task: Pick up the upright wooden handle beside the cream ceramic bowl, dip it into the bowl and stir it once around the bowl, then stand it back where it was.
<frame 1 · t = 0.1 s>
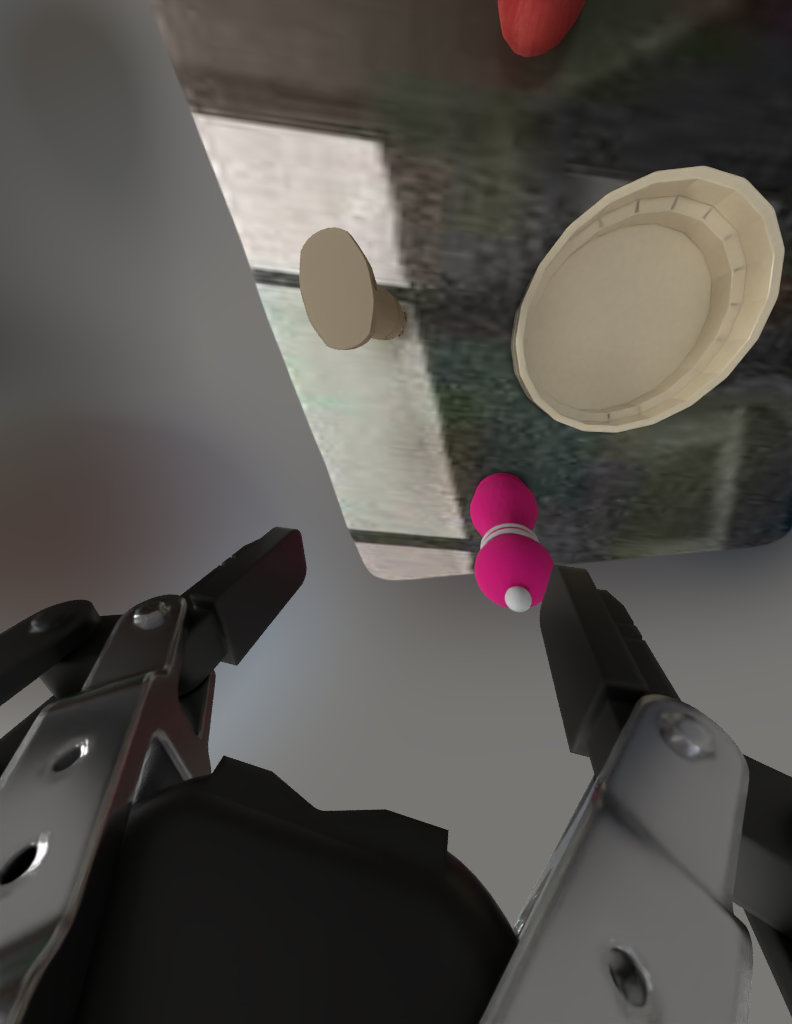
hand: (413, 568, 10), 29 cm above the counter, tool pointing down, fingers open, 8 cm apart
handle: (393, 322, 32), on the counter
onion: (536, 33, 22), on the counter
bowl: (607, 328, 28), on the counter
pepper mill: (500, 495, 38), on the counter
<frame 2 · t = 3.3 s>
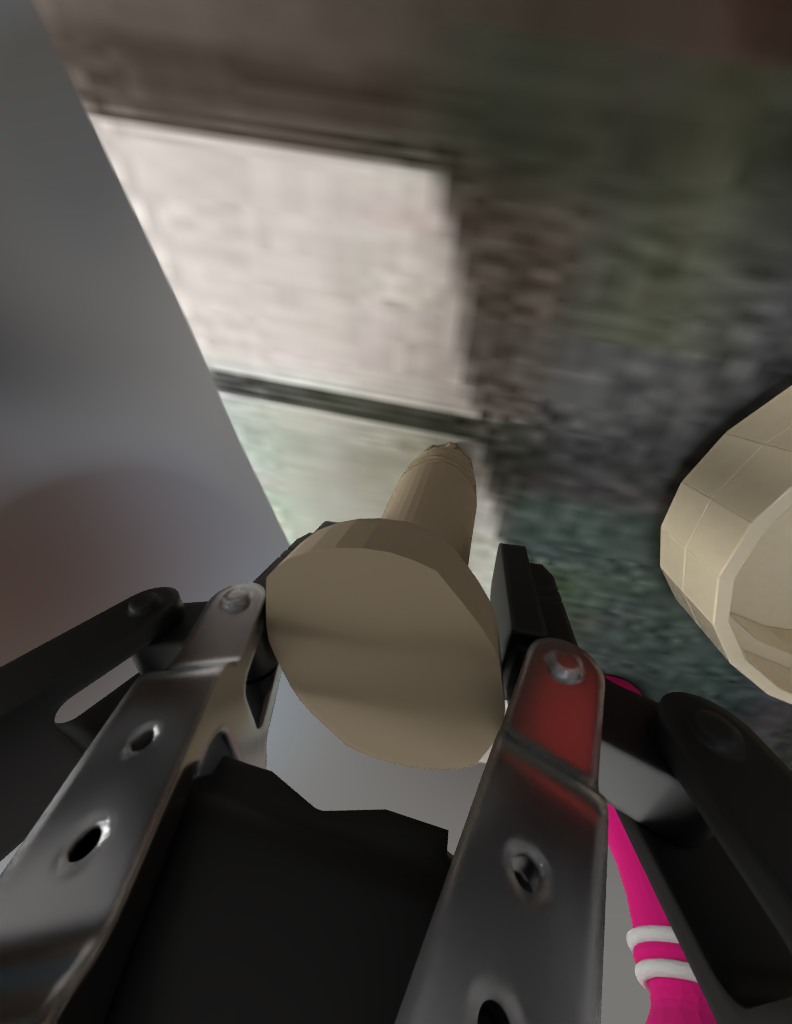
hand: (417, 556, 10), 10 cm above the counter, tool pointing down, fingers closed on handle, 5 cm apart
handle: (445, 464, 19), on the counter, touching gripper
pepper mill: (596, 696, 25), on the counter
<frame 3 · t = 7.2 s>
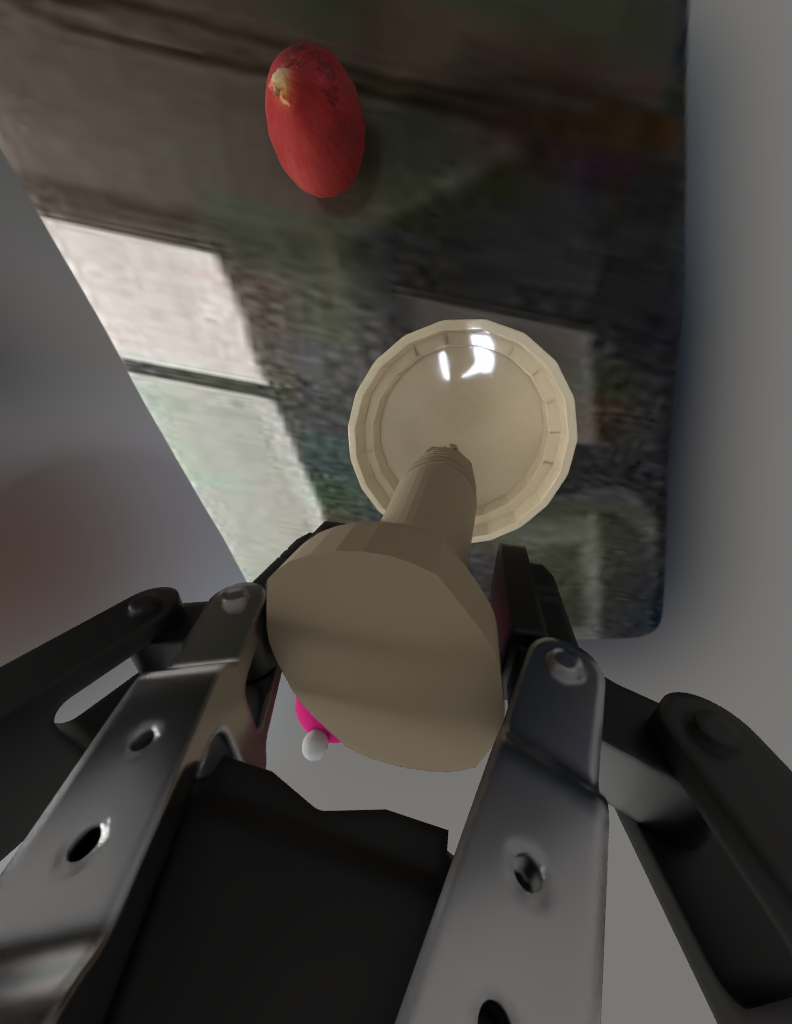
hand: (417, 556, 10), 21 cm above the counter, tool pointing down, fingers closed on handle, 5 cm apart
handle: (446, 465, 19), point 10 cm above the counter, touching gripper
onion: (342, 166, 22), on the counter
bowl: (456, 434, 28), on the counter
pepper mill: (387, 575, 38), on the counter
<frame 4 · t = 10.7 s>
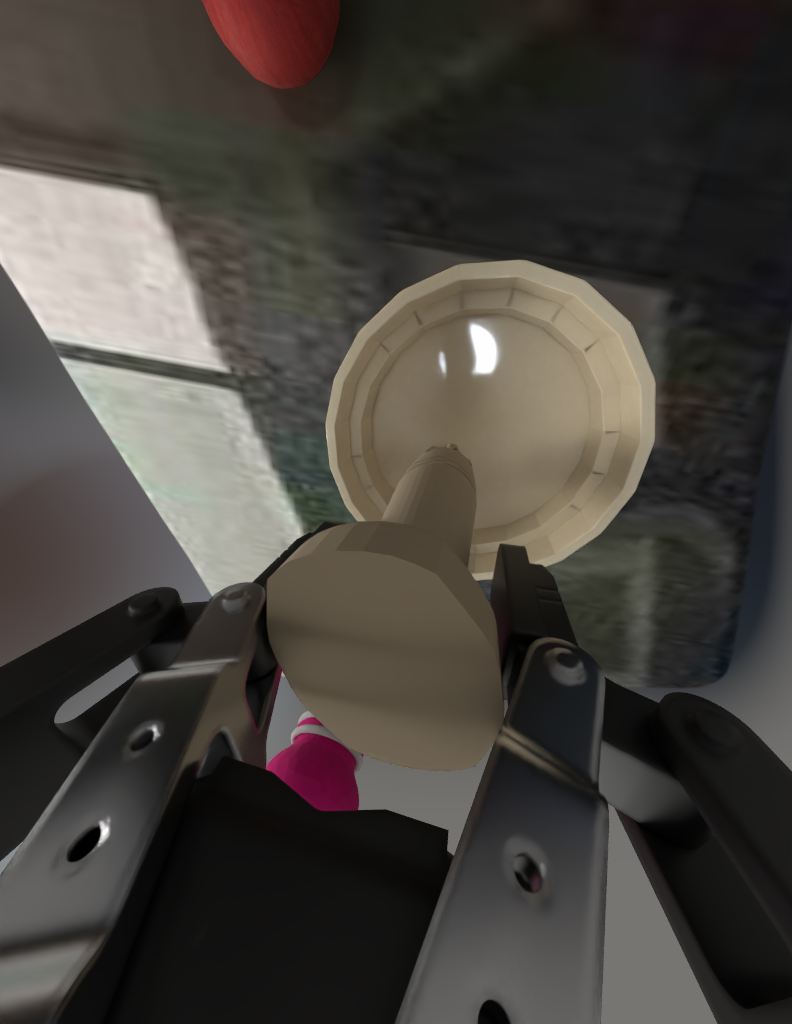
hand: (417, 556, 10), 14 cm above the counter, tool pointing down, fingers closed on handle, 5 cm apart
handle: (446, 465, 19), point 3 cm above the counter, touching gripper
onion: (312, 51, 15), on the counter
bowl: (470, 435, 21), on the counter
pepper mill: (383, 605, 31), on the counter
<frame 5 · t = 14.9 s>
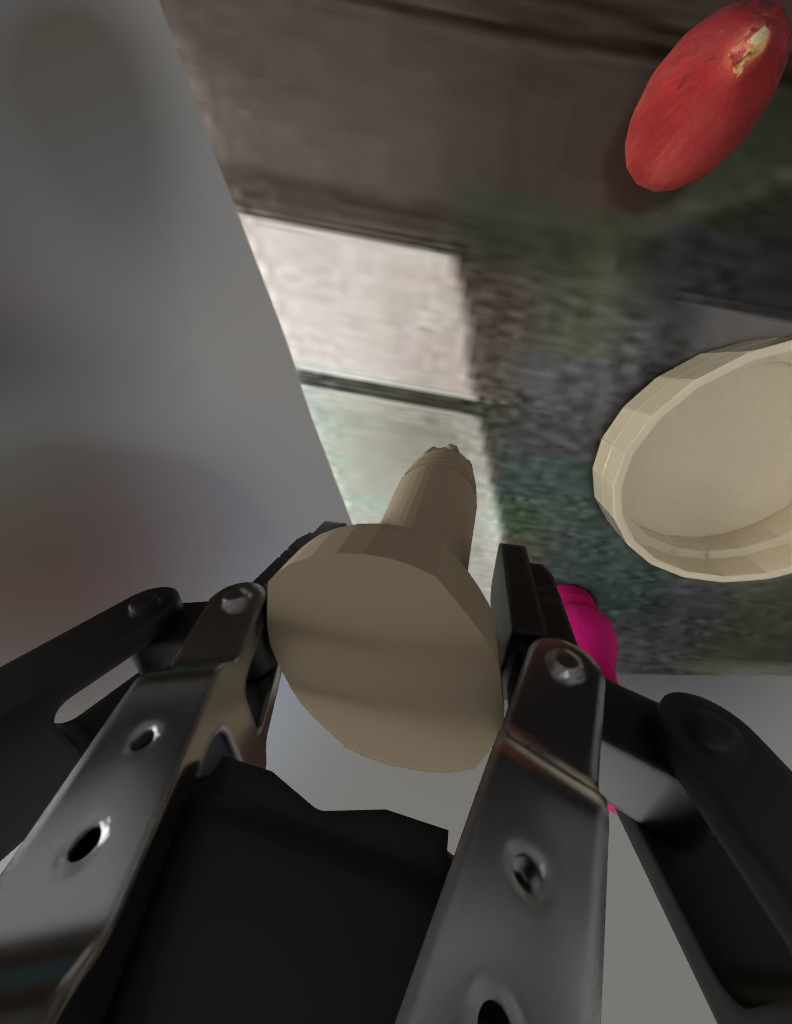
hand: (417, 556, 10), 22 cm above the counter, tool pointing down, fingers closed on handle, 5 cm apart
handle: (446, 466, 19), point 11 cm above the counter, touching gripper
onion: (657, 155, 19), on the counter
bowl: (707, 458, 25), on the counter
pepper mill: (562, 603, 35), on the counter
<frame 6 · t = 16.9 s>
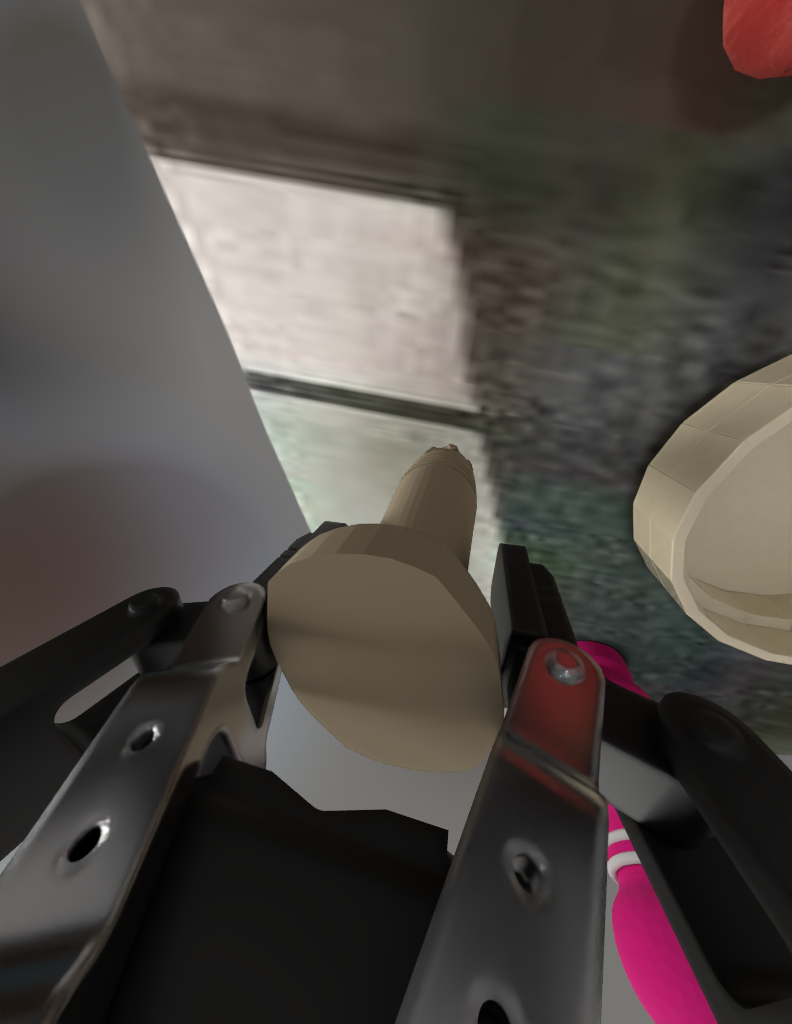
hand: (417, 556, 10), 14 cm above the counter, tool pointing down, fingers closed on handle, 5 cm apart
handle: (446, 466, 19), point 3 cm above the counter, touching gripper
onion: (761, 32, 12), on the counter
pepper mill: (583, 662, 28), on the counter
when the fingers open (10 cm above the counter, at t = 18.4 s): handle stays where it is, on the counter.
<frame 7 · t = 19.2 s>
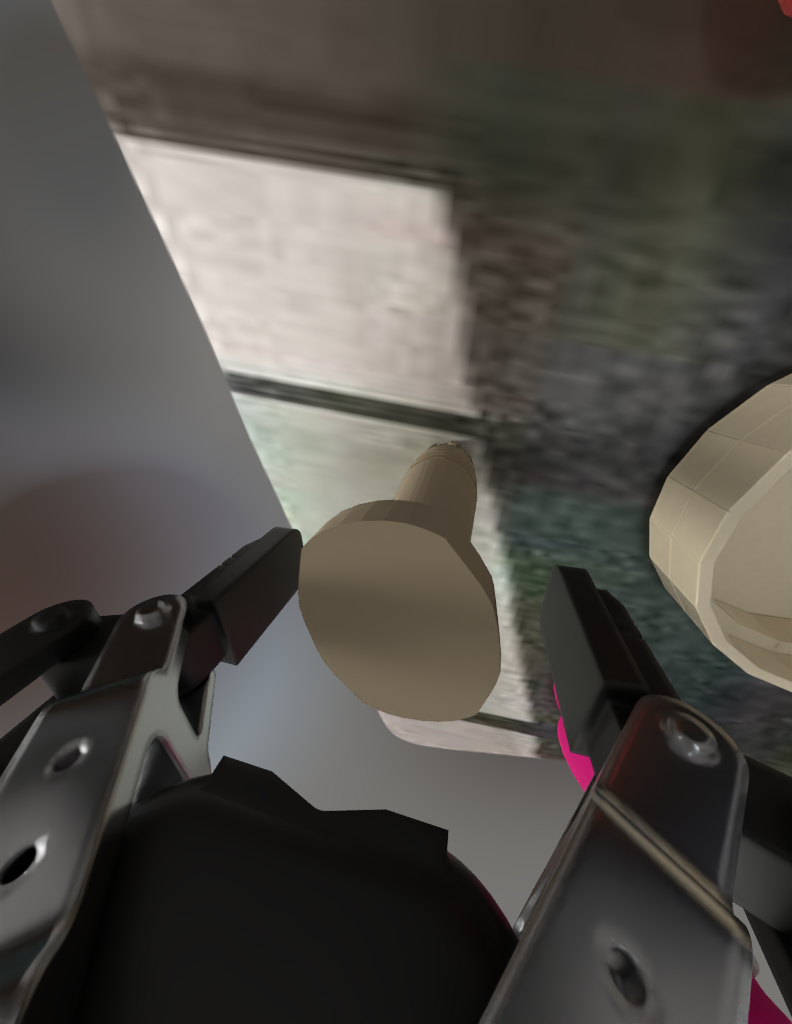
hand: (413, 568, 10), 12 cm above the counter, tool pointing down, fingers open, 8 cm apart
handle: (447, 462, 21), on the counter
pepper mill: (592, 684, 26), on the counter
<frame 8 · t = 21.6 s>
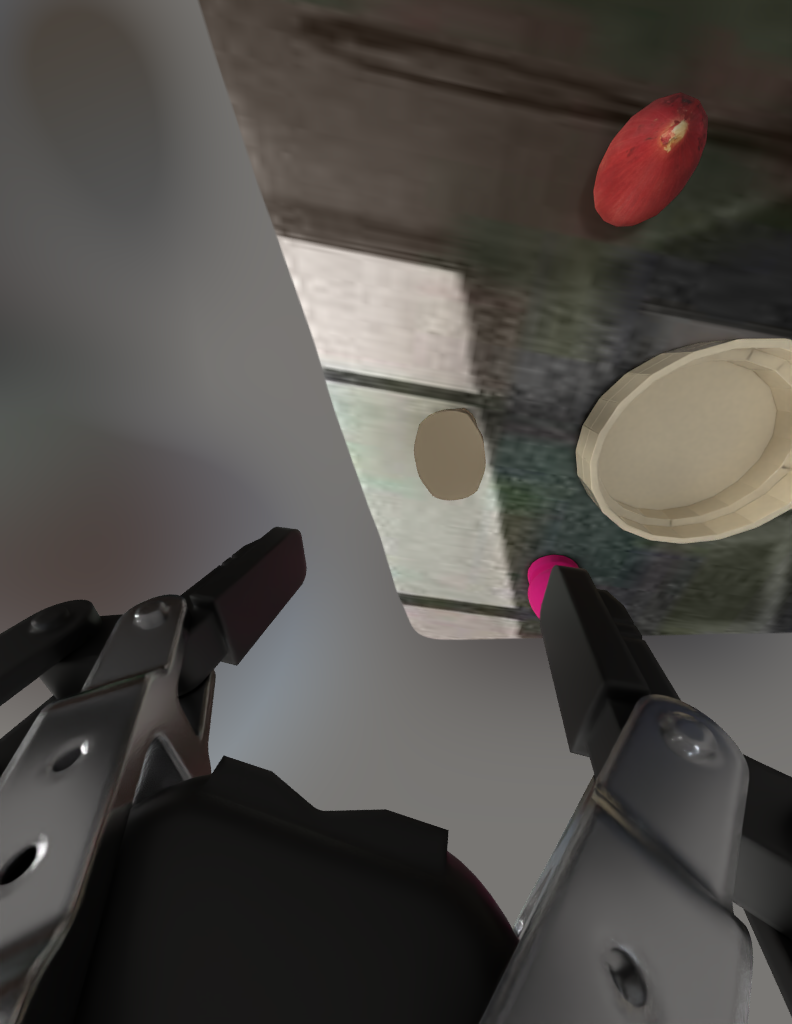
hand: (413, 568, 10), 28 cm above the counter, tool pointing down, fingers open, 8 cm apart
handle: (459, 422, 34), on the counter
onion: (621, 195, 24), on the counter
bowl: (670, 441, 30), on the counter
pepper mill: (552, 573, 40), on the counter
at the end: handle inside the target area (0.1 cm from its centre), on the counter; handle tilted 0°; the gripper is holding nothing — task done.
